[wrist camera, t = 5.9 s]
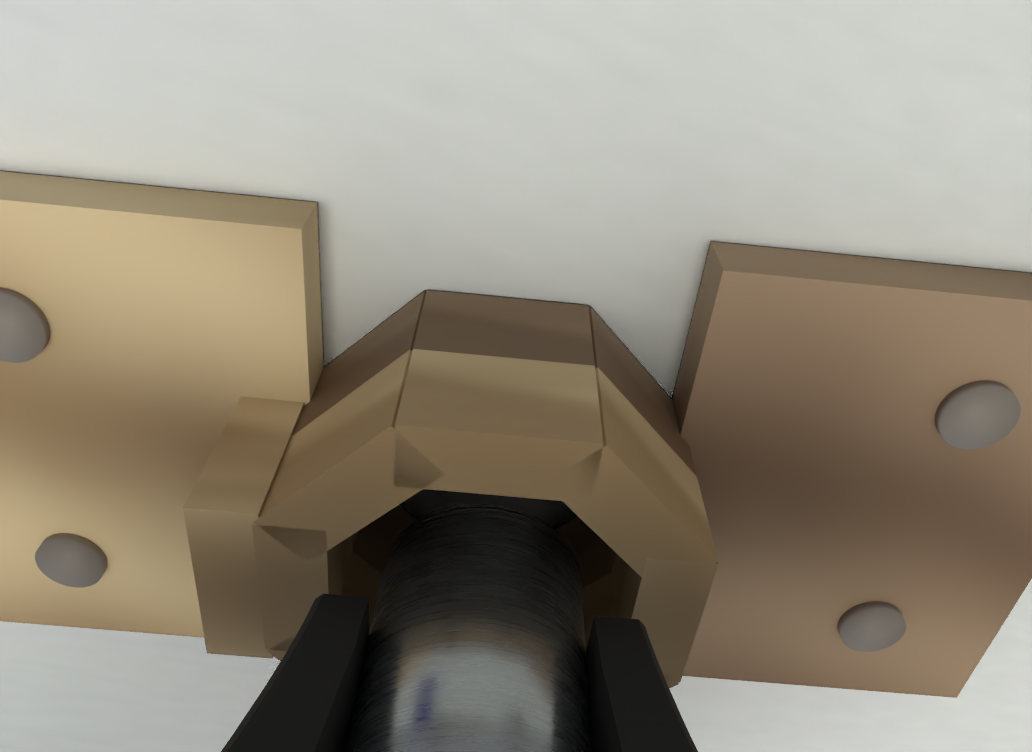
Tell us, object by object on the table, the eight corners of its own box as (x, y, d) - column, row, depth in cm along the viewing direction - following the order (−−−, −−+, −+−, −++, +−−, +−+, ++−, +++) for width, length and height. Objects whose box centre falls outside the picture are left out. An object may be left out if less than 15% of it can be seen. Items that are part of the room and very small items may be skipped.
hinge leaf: (624, 631, 18) (642, 796, 15) (-8, 579, 17) (-123, 739, 14) (723, 242, 13) (782, 370, 10) (-159, 154, 12) (-388, 260, 9)
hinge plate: (936, 656, 18) (973, 733, 16) (322, 607, 17) (302, 680, 16) (1153, 285, 13) (1234, 345, 11) (303, 201, 12) (271, 251, 11)
